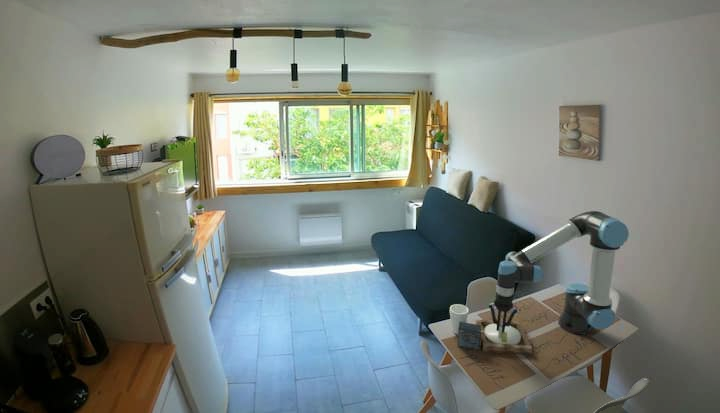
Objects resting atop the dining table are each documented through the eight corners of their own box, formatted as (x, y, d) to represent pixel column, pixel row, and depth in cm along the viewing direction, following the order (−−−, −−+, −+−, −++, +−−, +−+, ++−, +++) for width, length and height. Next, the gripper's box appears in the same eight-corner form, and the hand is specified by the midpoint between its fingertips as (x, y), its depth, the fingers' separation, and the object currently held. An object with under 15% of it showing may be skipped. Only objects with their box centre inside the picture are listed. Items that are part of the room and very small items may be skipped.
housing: (518, 327, 196) (519, 320, 195) (531, 354, 175) (532, 347, 174) (475, 325, 199) (476, 318, 198) (483, 352, 178) (483, 345, 177)
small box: (480, 342, 185) (481, 324, 182) (479, 350, 179) (481, 332, 176) (458, 339, 188) (459, 320, 185) (457, 346, 182) (458, 328, 180)
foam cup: (467, 337, 189) (469, 315, 186) (449, 335, 191) (450, 313, 187) (466, 326, 198) (467, 304, 195) (448, 324, 200) (449, 303, 196)
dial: (483, 324, 197) (484, 314, 195) (517, 328, 192) (519, 317, 191) (485, 344, 181) (486, 333, 179) (522, 349, 177) (524, 337, 175)
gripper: (489, 294, 173) (485, 338, 180) (519, 299, 168) (513, 344, 175) (490, 287, 180) (486, 329, 186) (519, 292, 175) (514, 335, 182)
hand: (499, 336), depth 181 cm, fingers closed
